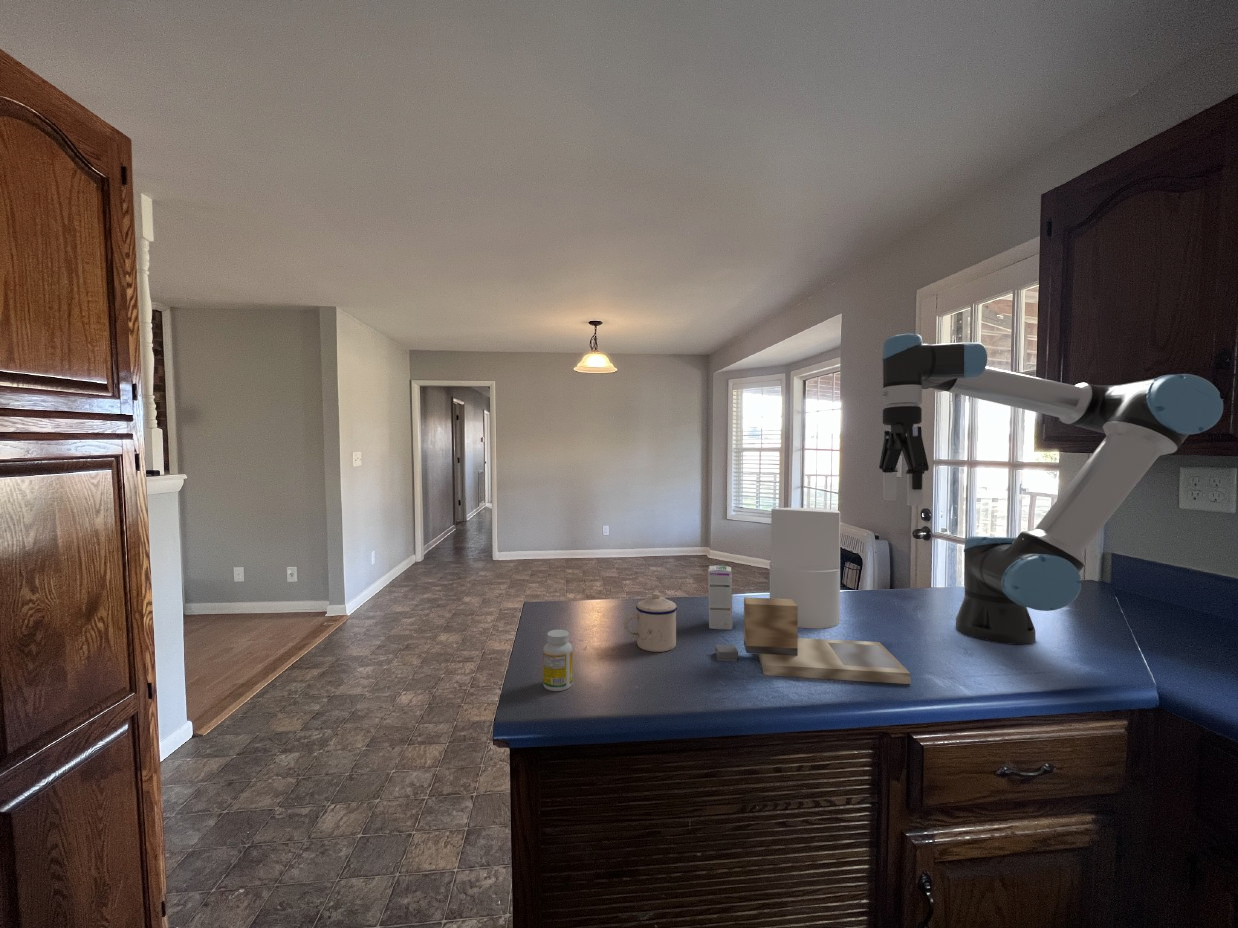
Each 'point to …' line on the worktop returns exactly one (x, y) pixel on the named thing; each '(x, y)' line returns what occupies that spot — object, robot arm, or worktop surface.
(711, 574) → the syrup box
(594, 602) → the worktop surface
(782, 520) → the cylinder
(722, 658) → the chip
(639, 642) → the teacup with lid
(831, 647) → the maple board
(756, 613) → the sanding block
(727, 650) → the chip
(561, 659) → the supplement bottle
